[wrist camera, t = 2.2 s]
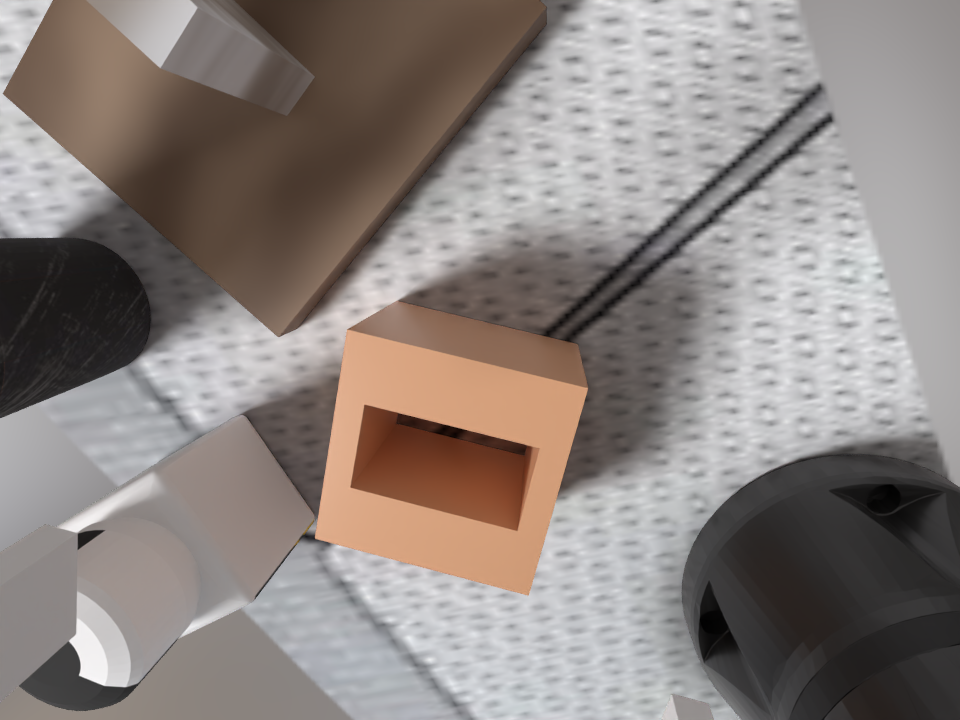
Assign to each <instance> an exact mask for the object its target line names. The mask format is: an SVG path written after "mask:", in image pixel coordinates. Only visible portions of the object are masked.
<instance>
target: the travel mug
mask: <svg viewBox="0 0 960 720" xmlns="http://www.w3.org/2000/svg"><path fill="white" fill-rule="evenodd" d="M149 329H150V309H149V303H148V299H147V296H146V293H145V291H144V288H143V286H142V284H141V282H140V280H139V279H138V277H137V275H136V274H135V273H134V271H133V270H132V269H131V267H130V266H129V265H128V264H127V263H126V262H125V261H124V260H123V259H122V258H121V257H120V256H118V255H117V254H116V253H114V252H113V251H111V250H110V249H108V248H106V247H104V246H103V245H100V244H98V243H95V242H92V241H88V240H84V239H76V238H1V239H0V418H2V417H5V416H7V415H9V414H12V413H14V412H17V411H19V410H21V409H24V408H26V407H29V406H31V405H34V404H36V403H39V402H41V401H44V400H46V399H49V398H51V397H53V396H56V395H58V394H61V393H63V392H66V391H68V390H71V389H73V388H75V387H78V386H80V385H83V384H85V383H88V382H90V381H93V380H95V379H97V378H100V377H102V376H104V375H107V374H109V373H111V372H114V371H116V370H118V369H120V368H122V367H124V366H126V365H127V364H128V363H130V362H131V361H132V360H133V359H134V358H135V357H137V356H138V354H139V353H140V352H141V350H142V349H143V347H144V345H145V343H146V340H147V337H148V334H149Z"/></svg>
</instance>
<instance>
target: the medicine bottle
mask: <svg viewBox="0 0 960 720" xmlns="http://www.w3.org/2000/svg"><path fill="white" fill-rule="evenodd" d="M314 519H315V516H314V514H313V512H312V511H311V509H310V508H309V507H308V505H307V504H306V502H305V501H304V499H303V498H302V496H301V495H300V494H299V492H298V491H297V489H296V488H295V486H294V485H293V483H292V482H291V481H290V479H289V478H288V476H287V475H286V473H285V472H284V471H283V469H282V468H281V466H280V465H279V463H278V462H277V460H276V459H275V458H274V456H273V455H272V453H271V452H270V450H269V449H268V447H267V446H266V445H265V443H264V442H263V440H262V439H261V437H260V436H259V434H258V433H257V432H256V430H255V429H254V427H253V426H252V424H251V423H250V421H249V420H248V419H247V417H246V416H244V415H238V416H236V417H234V418H232V419H230V420H229V421H227V422H225V423H224V424H222V425H220V426H219V427H217V428H215V429H214V430H212V431H210V432H209V433H207V434H205V435H203V436H202V437H200V438H198V439H197V440H195V441H193V442H192V443H190V444H188V445H187V446H185V447H183V448H181V449H180V450H178V451H176V452H175V453H173V454H171V455H170V456H168V457H166V458H165V459H163V460H161V461H160V462H158V463H156V464H154V465H153V466H151V467H149V468H148V469H146V470H145V471H143V472H142V473H140V474H138V475H137V476H135V477H134V478H132V479H131V480H129V481H127V482H126V483H124V484H123V485H121V486H120V487H118V488H116V489H115V490H113V491H112V492H110V493H108V494H107V495H105V496H104V497H102V498H101V499H99V500H98V501H96V502H94V503H93V504H91V505H90V506H88V507H86V508H85V509H83V510H82V511H80V512H79V513H77V514H75V515H74V516H72V517H71V518H69V519H68V520H66V521H64V522H63V523H61V524H60V525H58V526H57V528H61V529H65V530H68V531H72V532H76V533H78V551H77V624H76V635H75V636H74V637H73V638H71V639H70V640H69V641H68V642H67V643H66V644H65V645H64V646H63V647H61V648H60V649H59V650H58V651H57V652H56V653H55V654H54V655H53V656H51V657H50V658H49V659H48V660H47V661H46V662H45V663H44V664H42V665H41V666H40V667H39V668H38V669H37V670H36V671H35V672H34V673H32V674H31V675H30V676H29V677H28V678H27V679H26V680H25V681H24V682H22V683H21V684H20V685H19V686H20V687H21V688H22V689H23V690H25V691H26V692H27V693H29V694H30V695H32V696H34V697H35V698H37V699H39V700H41V701H43V702H45V703H47V704H50V705H52V706H55V707H59V708H63V709H67V710H75V711H88V710H95V709H99V708H104V707H107V706H111V705H114V704H116V703H118V702H120V701H122V700H123V699H125V698H126V697H127V696H128V695H129V694H130V693H131V692H132V691H133V690H134V689H135V688H136V687H137V686H138V684H139V683H140V682H141V681H142V680H143V679H144V678H145V676H146V675H147V674H148V673H149V672H150V671H151V670H152V668H153V667H154V666H155V665H156V664H157V663H158V661H159V660H160V659H161V658H162V657H163V656H164V655H165V653H166V652H167V651H168V650H169V649H170V648H171V646H172V645H173V644H174V643H175V642H176V641H177V640H178V638H180V637H183V636H184V635H187V634H188V633H191V632H193V631H195V630H197V629H199V628H201V627H203V626H205V625H207V624H209V623H211V622H213V621H215V620H217V619H220V618H222V617H224V616H226V615H228V614H230V613H232V612H234V611H236V610H238V609H240V608H242V607H244V606H246V605H248V604H250V603H252V602H253V601H254V600H255V599H256V597H257V596H258V595H259V593H260V592H261V591H262V589H263V588H264V587H265V585H266V584H267V583H268V581H269V580H270V579H271V577H272V576H273V575H274V574H275V572H276V571H277V570H278V568H279V567H280V566H281V564H282V563H283V562H284V560H285V559H286V558H287V556H288V555H289V554H290V552H291V551H292V550H293V549H294V547H295V546H296V545H297V543H298V542H299V541H300V539H301V538H302V537H303V535H304V534H305V533H306V531H307V530H308V529H309V527H310V526H311V525H312V524H313V522H314Z"/></svg>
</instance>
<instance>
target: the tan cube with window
mask: <svg viewBox="0 0 960 720" xmlns="http://www.w3.org/2000/svg"><path fill="white" fill-rule="evenodd" d="M587 391H588V385H587V381H586V377H585V372H584V368H583V364H582V360H581V355H580V351H579V347H578V344H575V343H571V342H567V341H563V340H559V339H554V338H550V337H546V336H542V335H538V334H533V333H529V332H525V331H521V330H517V329H513V328H508V327H504V326H500V325H496V324H492V323H487V322H483V321H479V320H475V319H471V318H466V317H462V316H458V315H454V314H450V313H446V312H441V311H437V310H433V309H429V308H425V307H420V306H416V305H412V304H408V303H404V302H400V301H396V302H394V303H392V304H391V305H389V306H387V307H385V308H384V309H382V310H380V311H378V312H377V313H375V314H373V315H372V316H370V317H368V318H366V319H365V320H363V321H361V322H359V323H358V324H356V325H354V326H352V327H351V328H349V329H347V333H346V340H345V346H344V353H343V359H342V366H341V372H340V379H339V385H338V392H337V398H336V405H335V411H334V418H333V424H332V431H331V437H330V444H329V450H328V457H327V463H326V470H325V476H324V483H323V489H322V495H321V502H320V508H319V515H318V521H317V528H316V534H315V539H318V540H322V541H326V542H329V543H333V544H337V545H341V546H345V547H348V548H352V549H356V550H360V551H363V552H367V553H371V554H375V555H378V556H382V557H386V558H390V559H393V560H397V561H401V562H405V563H408V564H412V565H416V566H420V567H423V568H427V569H431V570H435V571H438V572H442V573H446V574H450V575H453V576H457V577H461V578H465V579H468V580H472V581H476V582H480V583H483V584H487V585H491V586H495V587H498V588H502V589H506V590H510V591H514V592H517V593H521V594H525V595H529V593H530V589H531V586H532V582H533V579H534V575H535V572H536V568H537V565H538V561H539V558H540V554H541V551H542V547H543V544H544V540H545V537H546V533H547V530H548V526H549V523H550V519H551V516H552V513H553V509H554V506H555V502H556V499H557V495H558V492H559V488H560V485H561V481H562V478H563V474H564V471H565V467H566V464H567V460H568V457H569V453H570V450H571V446H572V443H573V439H574V436H575V433H576V429H577V426H578V422H579V419H580V415H581V412H582V408H583V405H584V401H585V398H586V394H587ZM398 413H401V414H405V415H409V416H413V417H417V418H421V419H425V420H429V421H433V422H437V423H441V424H445V425H449V426H453V427H457V428H461V429H465V430H469V431H473V432H476V433H480V434H484V435H488V436H492V437H496V438H500V439H504V440H508V441H512V442H516V443H520V444H524V445H527V448H526V452H525V456H523V455H519V454H515V453H511V452H507V451H504V450H500V449H496V448H492V447H488V446H484V445H480V444H476V443H472V442H468V441H464V440H460V439H456V438H452V437H448V436H444V435H440V434H436V433H432V432H428V431H424V430H420V429H416V428H412V427H408V426H404V425H400V424H396V423H397V418H398Z"/></svg>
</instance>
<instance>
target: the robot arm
mask: <svg viewBox="0 0 960 720" xmlns="http://www.w3.org/2000/svg"><path fill="white" fill-rule="evenodd" d="M77 551H78V533H76V532H72V531H68V530H65V529H61V528H57V527H53V526H50V525H46V524H45V525H43V526H42V527H40V528H38V529H37V530H35V531H34V532H32V533H31V534H29V535H27V536H26V537H24V538H22V539H21V540H19V541H18V542H16V543H14V544H13V545H11V546H10V547H8V548H6V549H5V550H3V551H1V552H0V702H1V701H2V700H4V699H5V697H7V696H8V695H9V694H10V693H11V692H12V691H14V690H15V689H16V688H17V687H18V686H19V685H20V684H21V683H22V682H24V681H25V680H26V679H27V678H28V677H29V676H30V675H31V674H32V673H34V672H35V671H36V670H37V669H38V668H39V667H40V666H41V665H42V664H44V663H45V662H46V661H47V660H48V659H49V658H50V657H51V656H53V655H54V654H55V653H56V652H57V651H58V650H59V649H60V648H61V647H63V646H64V645H65V644H66V643H67V642H68V641H69V640H70V639H71V638H73V637H74V636H75V635H76V624H77ZM682 604H683V611H684V616H685V620H686V623H687V626H688V629H689V632H690V635H691V638H692V641H693V644H694V647H695V650H696V653H697V655H698V658H699V660H700V662H701V664H702V666H703V668H704V670H705V672H706V674H707V676H708V677H709V679H710V680H711V682H712V684H713V685H714V687H715V688H716V689H717V691H718V692H719V693H720V694H721V696H722V697H723V698H724V699H725V700H726V702H727V703H728V704H729V705H730V706H731V708H732V709H733V710H734V711H735V712H736V714H737V715H738V716H739V717H740V718H741V720H960V487H958V486H957V485H955V484H954V483H952V482H951V481H949V480H947V479H946V478H944V477H942V476H940V475H939V474H937V473H935V472H933V471H930V470H928V469H926V468H924V467H921V466H918V465H915V464H913V463H909V462H906V461H902V460H898V459H893V458H888V457H882V456H874V455H835V456H827V457H820V458H815V459H810V460H806V461H802V462H798V463H795V464H792V465H789V466H786V467H783V468H781V469H778V470H775V471H773V472H771V473H769V474H767V475H765V476H763V477H761V478H759V479H757V480H755V481H754V482H752V483H750V484H749V485H747V486H746V487H744V488H743V489H741V490H740V491H739V492H737V493H736V494H735V495H733V496H732V497H731V498H730V499H729V500H727V501H726V502H725V503H724V504H723V505H722V506H721V507H720V508H719V509H718V510H717V511H716V512H715V513H714V514H713V516H712V517H711V518H710V519H709V520H708V522H707V523H706V524H705V526H704V527H703V529H702V530H701V532H700V533H699V535H698V536H697V538H696V540H695V542H694V544H693V546H692V548H691V551H690V553H689V556H688V559H687V562H686V565H685V570H684V574H683V582H682ZM661 720H714V719H713V716H712V713H711V710H710V707H709V704H708V703H704V702H700V701H697V700H693V699H689V698H686V697H682V696H678V695H675V694H671V697H670V699H669V702H668V704H667V707H666V709H665V712H664V714H663V717H662V719H661Z"/></svg>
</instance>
